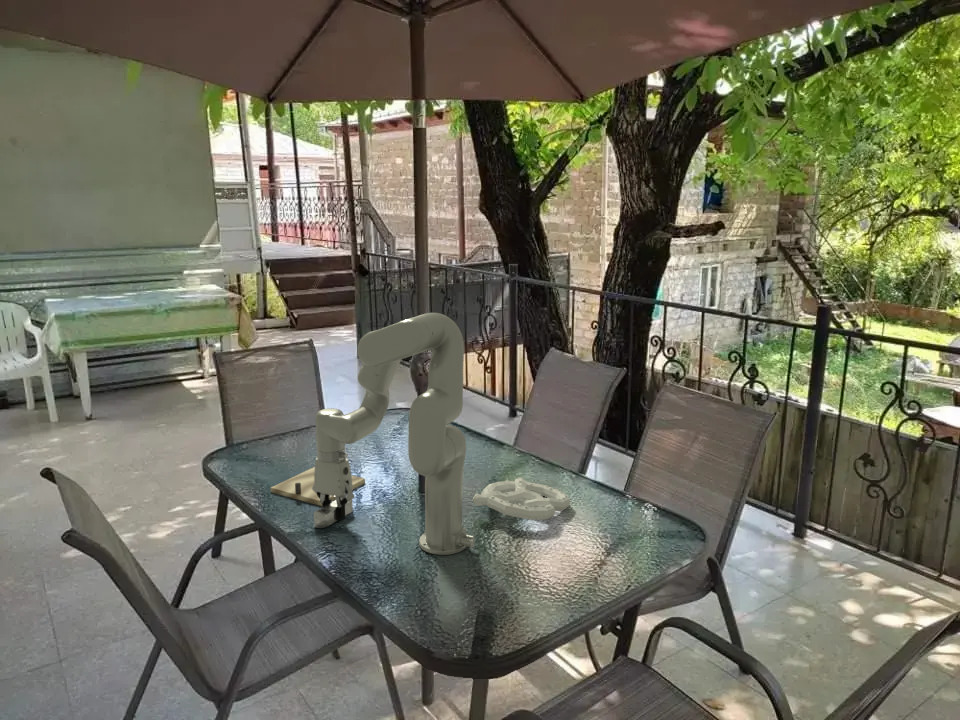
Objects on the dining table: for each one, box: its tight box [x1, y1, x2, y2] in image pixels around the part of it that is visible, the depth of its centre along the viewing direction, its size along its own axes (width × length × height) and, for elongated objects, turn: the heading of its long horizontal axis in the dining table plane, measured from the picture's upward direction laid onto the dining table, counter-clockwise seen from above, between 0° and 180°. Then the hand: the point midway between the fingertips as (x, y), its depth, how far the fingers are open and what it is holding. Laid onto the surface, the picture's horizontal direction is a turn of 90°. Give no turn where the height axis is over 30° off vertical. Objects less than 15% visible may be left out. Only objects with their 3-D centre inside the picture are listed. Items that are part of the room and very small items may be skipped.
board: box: [270, 466, 366, 507], centre depth 215 cm, size 20×20×4 cm
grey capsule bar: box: [313, 495, 354, 529], centre depth 194 cm, size 4×14×4 cm, turn 152°
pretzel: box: [472, 477, 571, 521], centre depth 202 cm, size 28×24×6 cm
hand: (333, 516), depth 194 cm, fingers closed on grey capsule bar, 4 cm apart
